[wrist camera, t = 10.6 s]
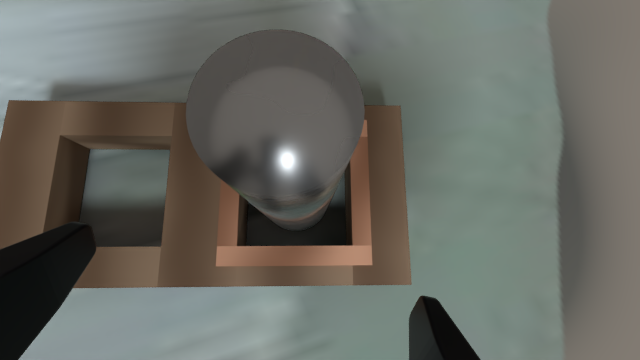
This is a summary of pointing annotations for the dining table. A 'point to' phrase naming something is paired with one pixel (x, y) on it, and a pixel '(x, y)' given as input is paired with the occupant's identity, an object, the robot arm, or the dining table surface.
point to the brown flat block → (197, 201)
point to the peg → (277, 122)
